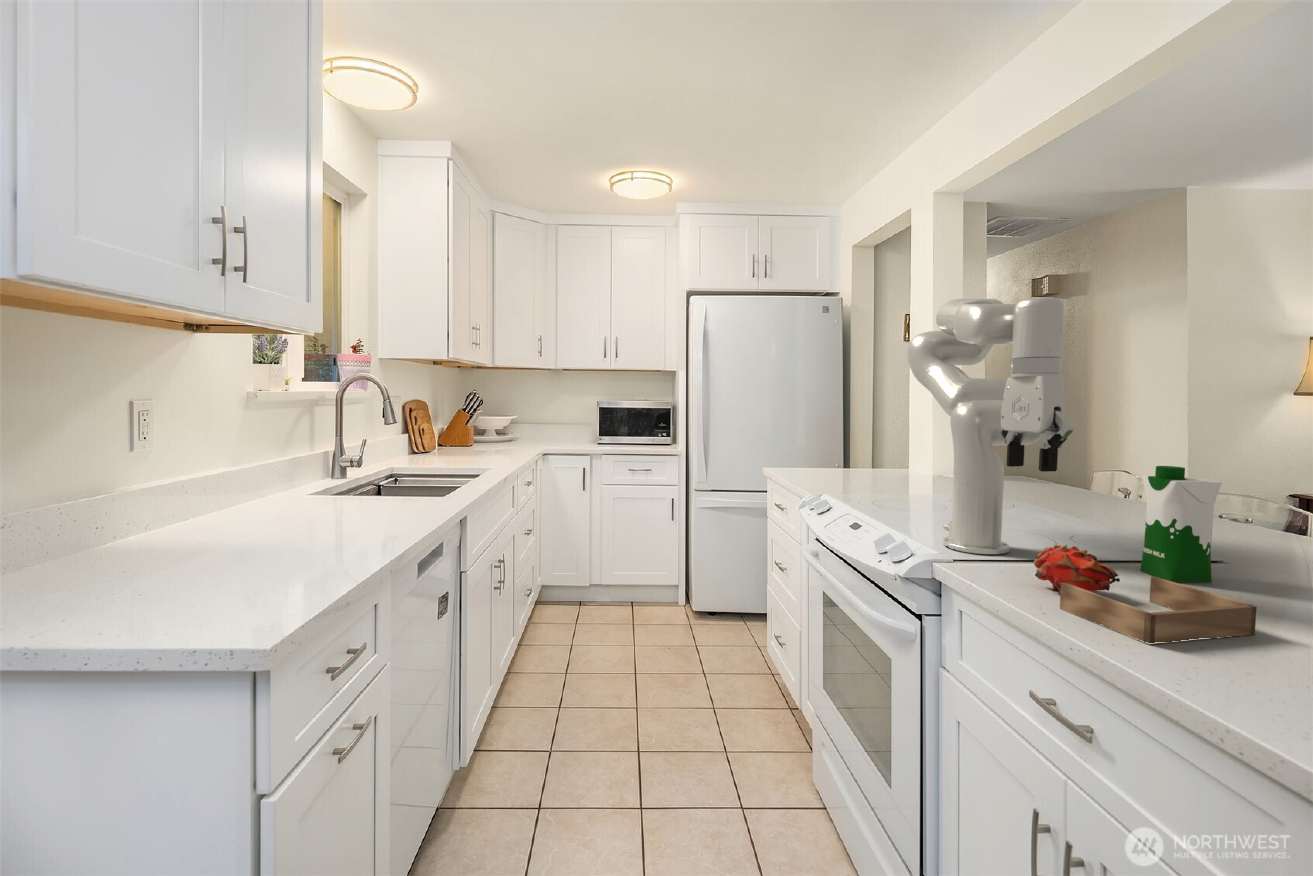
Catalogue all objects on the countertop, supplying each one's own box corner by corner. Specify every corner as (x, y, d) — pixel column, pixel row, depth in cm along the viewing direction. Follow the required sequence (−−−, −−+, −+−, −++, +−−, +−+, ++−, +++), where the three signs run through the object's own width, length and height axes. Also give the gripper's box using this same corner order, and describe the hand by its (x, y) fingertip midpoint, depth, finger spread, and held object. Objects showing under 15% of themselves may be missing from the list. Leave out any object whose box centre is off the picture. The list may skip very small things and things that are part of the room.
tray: (1059, 608, 92) (1061, 583, 92) (1153, 601, 96) (1155, 576, 96) (1149, 645, 79) (1151, 615, 79) (1254, 635, 82) (1256, 606, 82)
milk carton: (1131, 569, 114) (1137, 464, 112) (1180, 570, 113) (1187, 464, 112) (1169, 584, 105) (1177, 470, 103) (1222, 584, 105) (1231, 470, 103)
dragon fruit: (1026, 591, 106) (1110, 619, 97) (1021, 572, 100) (1109, 600, 92) (1042, 549, 108) (1125, 572, 100) (1038, 528, 102) (1126, 551, 94)
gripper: (981, 370, 115) (978, 463, 116) (1059, 366, 98) (1053, 475, 99) (1015, 371, 117) (1011, 463, 118) (1097, 367, 100) (1091, 474, 101)
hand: (1030, 467), depth 109 cm, fingers open, 6 cm apart
